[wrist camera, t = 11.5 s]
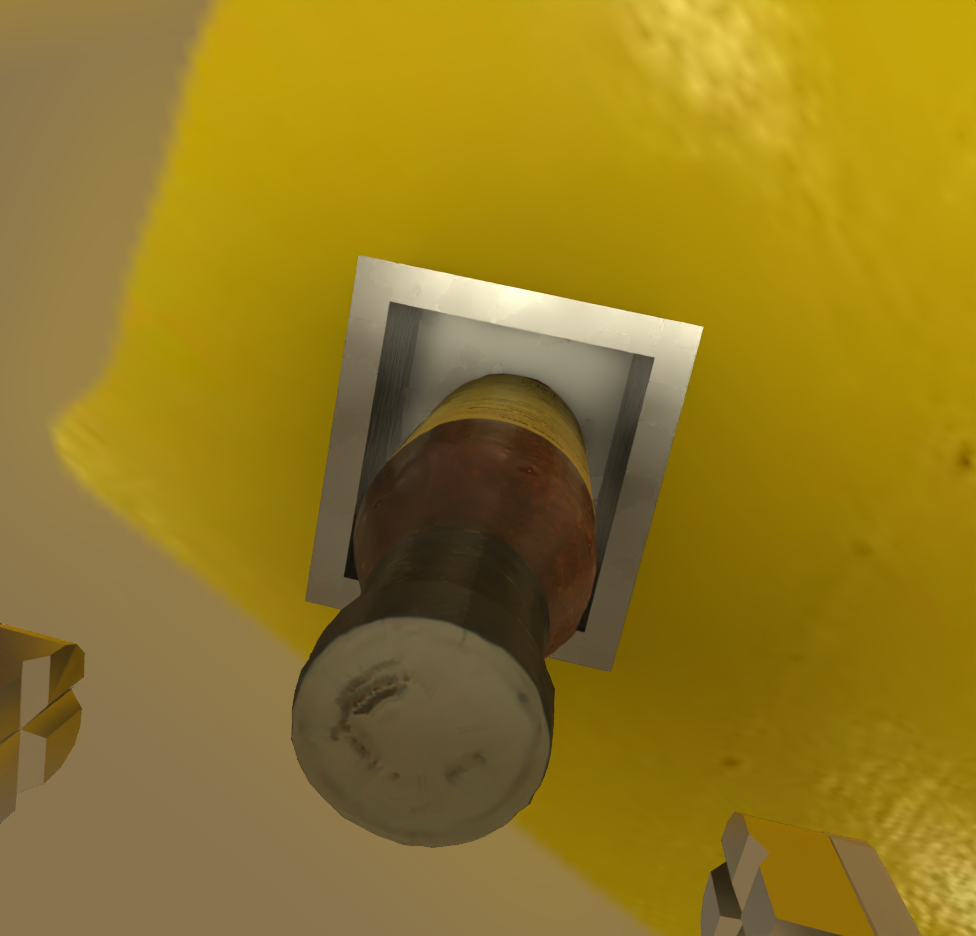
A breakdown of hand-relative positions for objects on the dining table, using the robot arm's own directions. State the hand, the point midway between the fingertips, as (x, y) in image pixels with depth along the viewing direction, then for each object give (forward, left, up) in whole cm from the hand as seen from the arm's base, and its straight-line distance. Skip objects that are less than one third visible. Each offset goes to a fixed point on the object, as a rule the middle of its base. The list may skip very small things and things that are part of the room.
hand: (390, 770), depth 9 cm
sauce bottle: (0, 0, -22) cm, 22 cm away
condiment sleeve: (0, 0, -22) cm, 22 cm away
